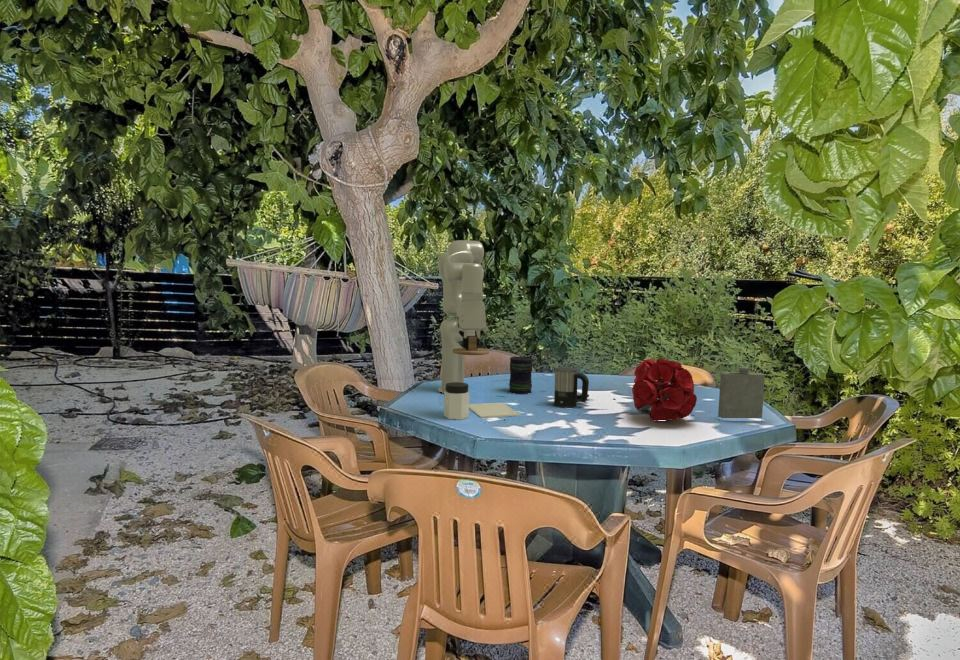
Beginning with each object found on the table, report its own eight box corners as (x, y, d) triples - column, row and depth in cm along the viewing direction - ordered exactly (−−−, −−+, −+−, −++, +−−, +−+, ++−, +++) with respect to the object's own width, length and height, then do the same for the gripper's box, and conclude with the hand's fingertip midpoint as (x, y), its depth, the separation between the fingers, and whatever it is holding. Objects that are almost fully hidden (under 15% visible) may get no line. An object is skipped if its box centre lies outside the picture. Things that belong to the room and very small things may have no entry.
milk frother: (552, 407, 241) (553, 369, 239) (554, 398, 256) (555, 363, 255) (589, 409, 239) (590, 371, 237) (588, 400, 254) (590, 365, 252)
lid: (448, 350, 227) (449, 334, 226) (482, 350, 231) (482, 334, 230) (458, 355, 215) (459, 338, 214) (493, 354, 219) (494, 337, 218)
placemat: (465, 405, 240) (465, 404, 239) (502, 404, 244) (502, 402, 244) (480, 418, 221) (480, 416, 220) (520, 416, 225) (520, 414, 225)
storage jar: (509, 389, 274) (510, 356, 272) (531, 390, 273) (532, 357, 271) (508, 393, 264) (509, 359, 262) (531, 394, 263) (532, 360, 261)
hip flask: (759, 419, 228) (763, 366, 226) (764, 422, 224) (768, 368, 222) (716, 419, 228) (719, 365, 225) (720, 421, 223) (724, 367, 221)
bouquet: (618, 430, 234) (647, 407, 207) (614, 372, 243) (642, 343, 216) (672, 434, 236) (708, 412, 209) (666, 376, 246) (701, 348, 219)
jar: (441, 415, 224) (441, 382, 222) (461, 413, 227) (462, 381, 226) (450, 421, 215) (451, 387, 214) (471, 419, 219) (472, 385, 218)
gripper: (489, 297, 227) (488, 347, 229) (447, 297, 222) (446, 347, 224) (496, 298, 220) (495, 349, 222) (452, 298, 215) (451, 350, 217)
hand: (470, 348), depth 223 cm, fingers closed on lid, 3 cm apart
